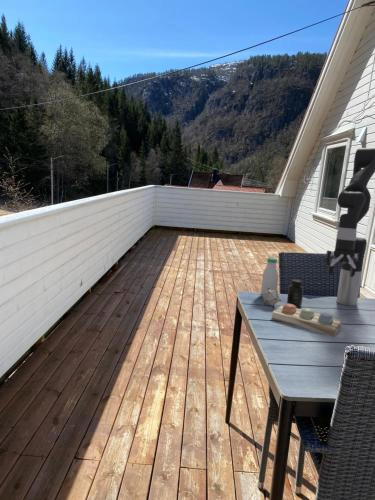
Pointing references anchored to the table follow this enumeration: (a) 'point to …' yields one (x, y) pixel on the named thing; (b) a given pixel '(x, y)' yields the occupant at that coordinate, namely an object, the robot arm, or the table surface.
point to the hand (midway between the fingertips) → (340, 275)
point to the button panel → (307, 321)
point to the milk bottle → (270, 276)
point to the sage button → (307, 313)
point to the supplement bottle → (295, 293)
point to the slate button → (326, 318)
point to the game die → (271, 297)
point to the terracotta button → (289, 308)
